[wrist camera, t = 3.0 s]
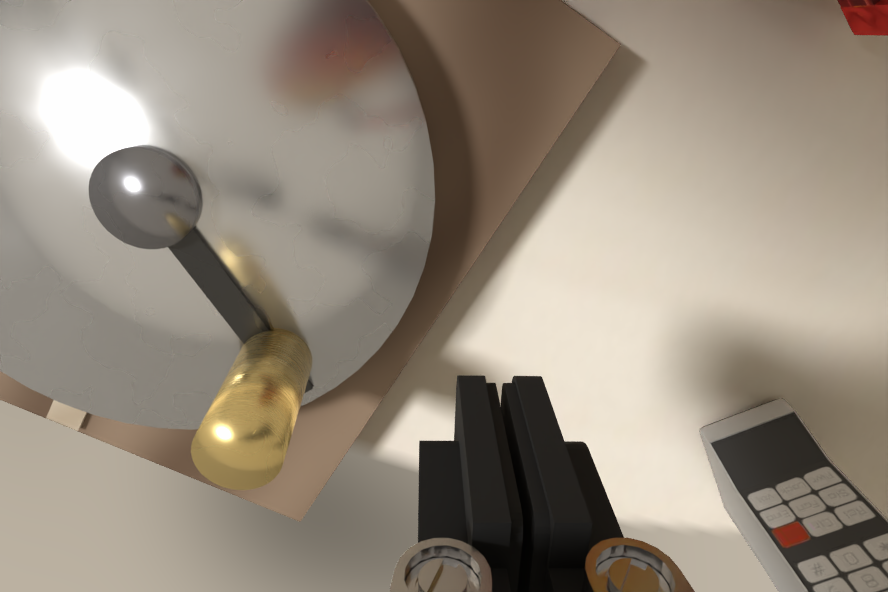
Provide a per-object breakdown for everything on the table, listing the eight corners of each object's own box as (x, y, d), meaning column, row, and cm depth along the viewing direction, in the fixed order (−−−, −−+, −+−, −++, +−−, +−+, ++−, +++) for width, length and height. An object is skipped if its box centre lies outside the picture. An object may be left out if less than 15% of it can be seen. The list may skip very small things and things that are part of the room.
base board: (-191, 288, 22) (-237, 307, 20) (-27, -417, 15) (-79, -469, 13) (305, 496, 27) (299, 525, 25) (606, 43, 20) (622, 44, 18)
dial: (-257, 70, 18) (-598, 92, 12) (225, -280, 15) (101, -483, 9) (134, 471, 24) (42, 617, 18) (519, 276, 21) (560, 372, 15)
